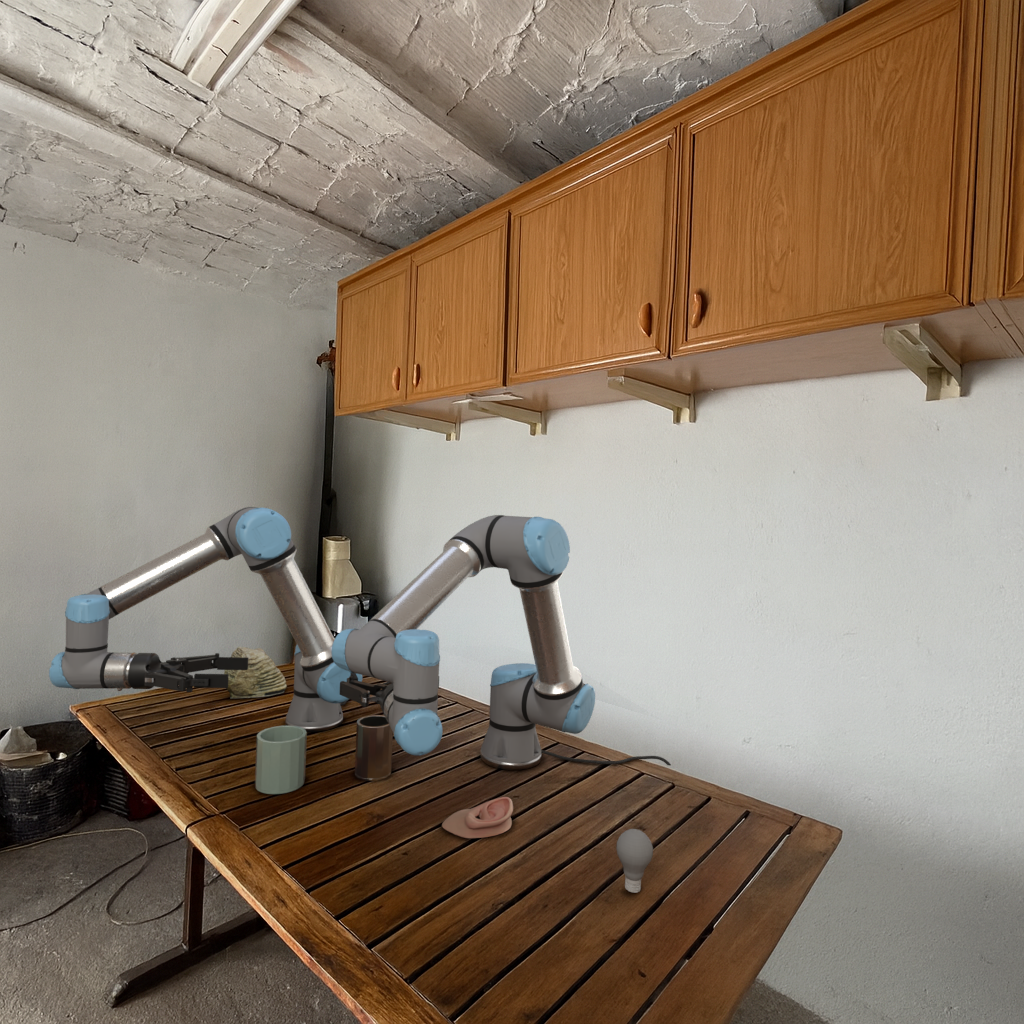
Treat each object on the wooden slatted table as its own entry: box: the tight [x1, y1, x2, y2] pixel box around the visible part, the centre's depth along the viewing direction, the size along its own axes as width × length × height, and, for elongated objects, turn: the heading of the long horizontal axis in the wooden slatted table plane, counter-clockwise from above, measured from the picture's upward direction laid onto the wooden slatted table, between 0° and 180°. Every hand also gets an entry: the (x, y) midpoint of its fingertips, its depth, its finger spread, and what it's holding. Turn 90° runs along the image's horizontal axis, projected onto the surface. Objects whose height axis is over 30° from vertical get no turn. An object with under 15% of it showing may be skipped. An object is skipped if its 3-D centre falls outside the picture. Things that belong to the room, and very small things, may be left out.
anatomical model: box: [441, 796, 514, 839], centre depth 125 cm, size 13×4×12 cm
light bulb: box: [615, 828, 654, 894], centre depth 106 cm, size 6×6×10 cm
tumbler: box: [354, 714, 394, 782], centre depth 146 cm, size 8×8×12 cm
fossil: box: [223, 646, 288, 699], centre depth 198 cm, size 9×18×15 cm, turn 132°
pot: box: [254, 725, 308, 795], centre depth 139 cm, size 10×10×11 cm
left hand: (238, 672), depth 138 cm, fingers open, 13 cm apart
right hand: (384, 674), depth 137 cm, fingers open, 13 cm apart
